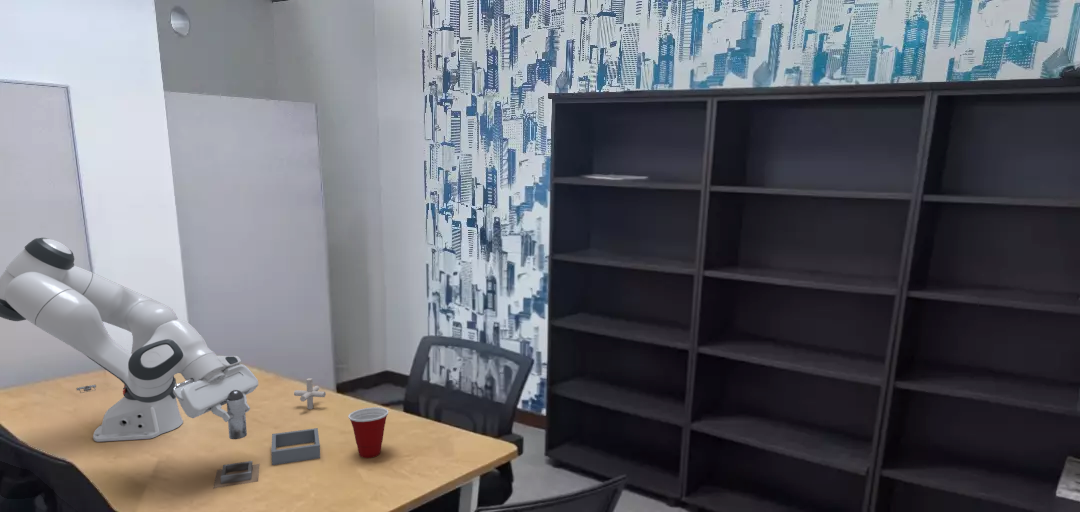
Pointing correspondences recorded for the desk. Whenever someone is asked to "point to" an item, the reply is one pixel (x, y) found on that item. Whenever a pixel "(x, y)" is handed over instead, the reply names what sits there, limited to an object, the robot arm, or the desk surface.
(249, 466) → the socket plate
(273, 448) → the bin
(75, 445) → the desk surface
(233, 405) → the strut
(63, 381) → the desk surface
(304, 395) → the pipe connector
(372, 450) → the plastic cup
